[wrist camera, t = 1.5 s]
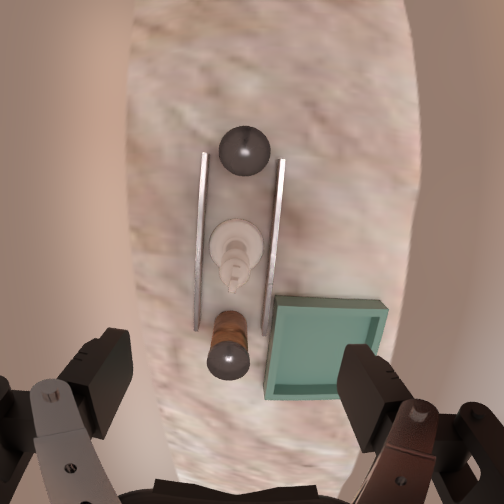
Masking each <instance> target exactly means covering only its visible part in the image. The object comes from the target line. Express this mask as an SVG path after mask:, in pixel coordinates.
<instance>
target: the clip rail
mask: <svg viewBox="0 0 504 504" xmlns="http://www.w3.org/2000/svg"><path fill="white" fill-rule="evenodd" d="M209 155H210V154H208V153H202V165H201V177H200V191H199V206H198V222H197V241H196V264H195V294H194V331H198V330H199V326H200V312H201V282H202V259H203V240H204V223H205V207H206V193H207V179H208V167H209ZM219 157H220V160H221V162H222V164H223V166H224V167H225V168H226V169H227V170H228V171H229V172H231V173H233V174H235V175H238V176H251V175H254V174H256V173H258V172H260V171H261V170H262V169H263V168H264V167H265V166H266V164H267V163H268V161H269V158H270V144H269V141H268V139H267V138H266V136H265V135H264V134H263V133H262V132H261V131H260V130H258V129H256V128H254V127H250V126H239V127H236V128H233V129H232V130H230V131H229V132H227V133H226V134H225V135H224V137H223V138H222V140H221V142H220V145H219ZM284 170H285V159H279V160H278V167H277V178H276V188H275V199H274V209H273V219H272V229H271V239H270V249H269V259H268V268H267V277H266V287H265V296H264V305H263V314H262V323H261V331H262V336H267V327H268V319H269V311H270V302H271V294H272V285H273V276H274V268H275V259H276V249H277V240H278V231H279V221H280V211H281V201H282V191H283V181H284ZM249 366H250V358H249V353H248V340H247V322H246V320H245V318H244V317H243V316H242V315H241V314H240V313H238V312H236V311H225V312H222V313H221V314H219V315H218V316H217V318H216V319H215V323H214V329H213V335H212V341H211V347H210V351H209V353H208V358H207V367H208V369H209V371H210V372H211V373H212V374H213V375H214V376H215V377H217V378H219V379H222V380H236V379H239V378H241V377H243V376H244V375H245V374H246V373H247V371H248V370H249Z"/></svg>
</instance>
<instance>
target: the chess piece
mask: <svg viewBox="0 0 504 504" xmlns="http://www.w3.org/2000/svg"><path fill="white" fill-rule="evenodd" d="M209 250H210V254H211V257H212V259H213V261H214V262H215V264H216V265H217V266H218V267H220V270H219V275H220V278H221V280H222V282H223V283H224V284H226V285H227V286H229V291H228V292H230V293H235V292H236V288H237V287H240V286H242V285H244V284H245V283H246V282H247V281H248V279H249V276H250V269H252V268H253V267H255V266H256V265H257V263H258V262H259V261H260V259H261V257H262V254H263V250H264V242H263V237H262V235H261V233H260V231H259V230H258V229H257V227H256V226H254V225H253V224H252V223H250V222H248V221H246V220H242V219H230V220H227V221H224V222H223V223H221V224H220V225H218V226H217V227H216V228H215V230H214V231H213V233H212V235H211V237H210V241H209Z"/></svg>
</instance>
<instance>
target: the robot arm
mask: <svg viewBox="0 0 504 504" xmlns="http://www.w3.org/2000/svg"><path fill="white" fill-rule="evenodd" d="M132 376H133V361H132V352H131V343H130V335H129V332H128V331H127V330H123V329H116V328H107V329H106V331H105V332H104V333H103V335H102V336H101V337H100V338H99V339H97V338H94V339H93V340H91V341H89V342H87V343H85V344H84V345H83V346H82V348H81V349H80V350H79V351H78V353H77V354H76V355H75V356H74V358H73V359H72V360H71V361H70V362H69V364H68V365H67V366H66V367H65V369H64V370H63V371H62V373H61V374H60V375H59V376H58V378H57V379H46V380H42V381H40V382H38V383H36V384H35V385H34V386H33V387H32V388H31V390H30V391H19V390H11V387H10V385H9V382H8V380H7V379H6V378H5V377H3V376H0V504H9V503H10V501H11V499H12V497H13V495H14V492H15V490H16V488H17V486H18V484H19V482H20V480H21V478H22V475H23V473H24V471H25V469H26V467H27V465H28V463H29V461H30V459H31V457H32V456H33V454H34V453H36V454H37V458H38V461H39V466H40V470H41V474H42V477H43V481H44V484H45V487H46V491H47V494H48V497H49V500H50V503H51V504H350V503H348V502H345V501H342V500H339V499H336V498H333V497H328V496H323V495H318V492H317V488H316V485H309V486H294V487H276V488H272V489H267V490H262V491H257V492H252V493H247V494H241V495H234V494H229V493H225V492H221V491H217V490H214V489H210V488H206V487H203V486H200V485H196V484H190V483H182V482H174V481H166V480H160V479H155V483H154V487H153V489H142V490H136V491H131V492H128V493H124V494H121V495H119V496H117V494H116V492H115V490H114V489H113V487H112V485H111V483H110V481H109V479H108V477H107V475H106V473H105V471H104V469H103V467H102V465H101V462H100V460H99V458H98V456H97V454H96V452H95V449H94V447H93V444H92V442H91V439H92V437H94V438H98V439H102V440H104V438H105V436H106V434H107V431H108V429H109V427H110V425H111V423H112V420H113V418H114V416H115V414H116V412H117V410H118V407H119V405H120V403H121V401H122V399H123V397H124V394H125V392H126V390H127V388H128V386H129V384H130V382H131V380H132ZM337 392H338V395H339V397H340V400H341V402H342V404H343V407H344V409H345V412H346V414H347V416H348V419H349V421H350V424H351V426H352V429H353V431H354V433H355V436H356V438H357V441H358V443H359V446H360V448H361V451H362V453H368V452H375V453H376V457H375V459H374V461H373V463H372V465H371V467H370V469H369V471H368V473H367V475H366V477H365V479H364V481H363V483H362V485H361V487H360V489H359V490H358V492H357V494H356V496H355V497H354V499H353V501H352V503H351V504H424V502H425V499H426V495H427V492H428V488H429V485H430V481H431V479H432V481H433V483H434V485H435V487H436V489H437V492H438V494H439V496H440V498H441V500H442V502H443V504H504V426H503V425H502V424H501V422H500V421H499V420H498V419H497V417H496V416H495V415H494V414H493V413H492V411H491V410H490V409H489V408H488V407H486V406H485V405H483V404H481V403H477V402H467V403H465V404H463V405H462V406H461V408H460V409H459V412H458V413H457V414H439V412H438V410H437V408H436V407H435V406H434V405H433V404H431V403H430V402H428V401H425V400H422V399H414V398H413V396H412V395H411V393H410V392H409V391H408V389H407V388H406V386H405V385H404V383H403V382H402V381H401V379H399V376H398V375H397V374H396V372H394V370H393V368H392V367H391V365H390V364H389V363H388V362H387V361H386V360H384V359H383V358H381V357H380V356H375V354H374V353H373V351H372V350H371V349H370V347H369V346H368V345H367V344H347V345H346V347H345V350H344V354H343V358H342V362H341V366H340V370H339V373H338V377H337ZM471 455H472V456H473V457H474V459H475V461H476V462H477V464H478V466H479V468H480V471H481V476H480V480H479V481H478V480H477V479H476V477H475V475H474V473H473V472H472V470H471V468H470V466H469V465H468V463H467V461H468V460H469V458H470V457H471Z"/></svg>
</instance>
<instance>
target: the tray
mask: <svg viewBox="0 0 504 504" xmlns="http://www.w3.org/2000/svg"><path fill="white" fill-rule="evenodd" d="M388 311H389V309H388V308H387V307H386V306H385V305H384V304H383V303H382V302H381V301H380V300H360V299H334V298H313V297H294V296H277V295H275V300H274V309H273V317H272V325H271V332H270V340H269V348H268V355H267V363H266V370H265V377H264V384H263V389H264V399H265V400H332V399H340V397H339V395H338V392H337V377H338V373H339V370H340V366H341V362H342V358H343V354H344V350H345V347H346V345H347V344H367V345H368V346H369V347H370V349H371V350H372V351H373V353H374V354H375V356H376V355H377V352H378V348H379V345H380V341H381V338H382V334H383V330H384V327H385V323H386V319H387V315H388Z"/></svg>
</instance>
